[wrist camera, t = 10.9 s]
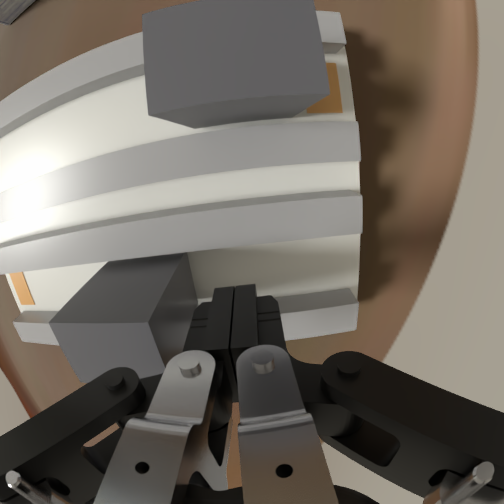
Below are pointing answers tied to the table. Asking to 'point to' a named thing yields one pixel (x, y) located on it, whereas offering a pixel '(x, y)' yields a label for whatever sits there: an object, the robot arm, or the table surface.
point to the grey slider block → (128, 316)
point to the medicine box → (12, 9)
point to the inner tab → (233, 61)
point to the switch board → (179, 192)
